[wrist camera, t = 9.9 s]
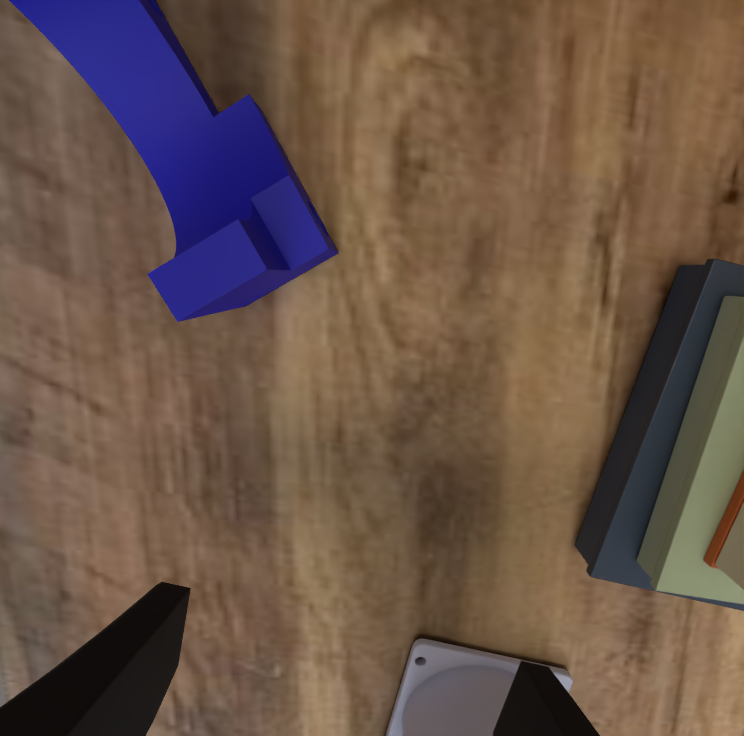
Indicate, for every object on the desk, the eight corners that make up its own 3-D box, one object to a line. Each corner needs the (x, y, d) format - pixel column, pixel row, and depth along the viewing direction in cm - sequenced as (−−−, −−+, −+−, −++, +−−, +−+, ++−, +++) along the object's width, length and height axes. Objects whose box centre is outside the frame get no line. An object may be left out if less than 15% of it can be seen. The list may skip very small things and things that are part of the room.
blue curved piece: (339, 253, 17) (314, 242, 12) (245, 306, 18) (177, 321, 12) (173, -52, 15) (40, -256, 9) (74, 19, 16) (-108, -130, 10)
